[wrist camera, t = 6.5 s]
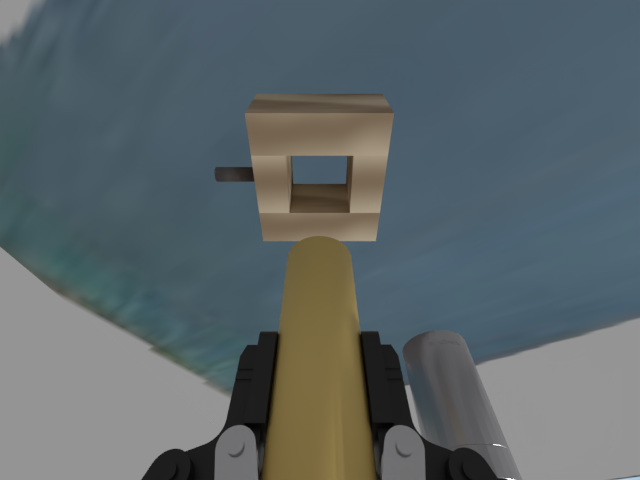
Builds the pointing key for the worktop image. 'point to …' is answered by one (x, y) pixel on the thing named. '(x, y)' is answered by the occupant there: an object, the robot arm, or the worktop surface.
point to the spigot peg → (319, 373)
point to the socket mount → (316, 140)
